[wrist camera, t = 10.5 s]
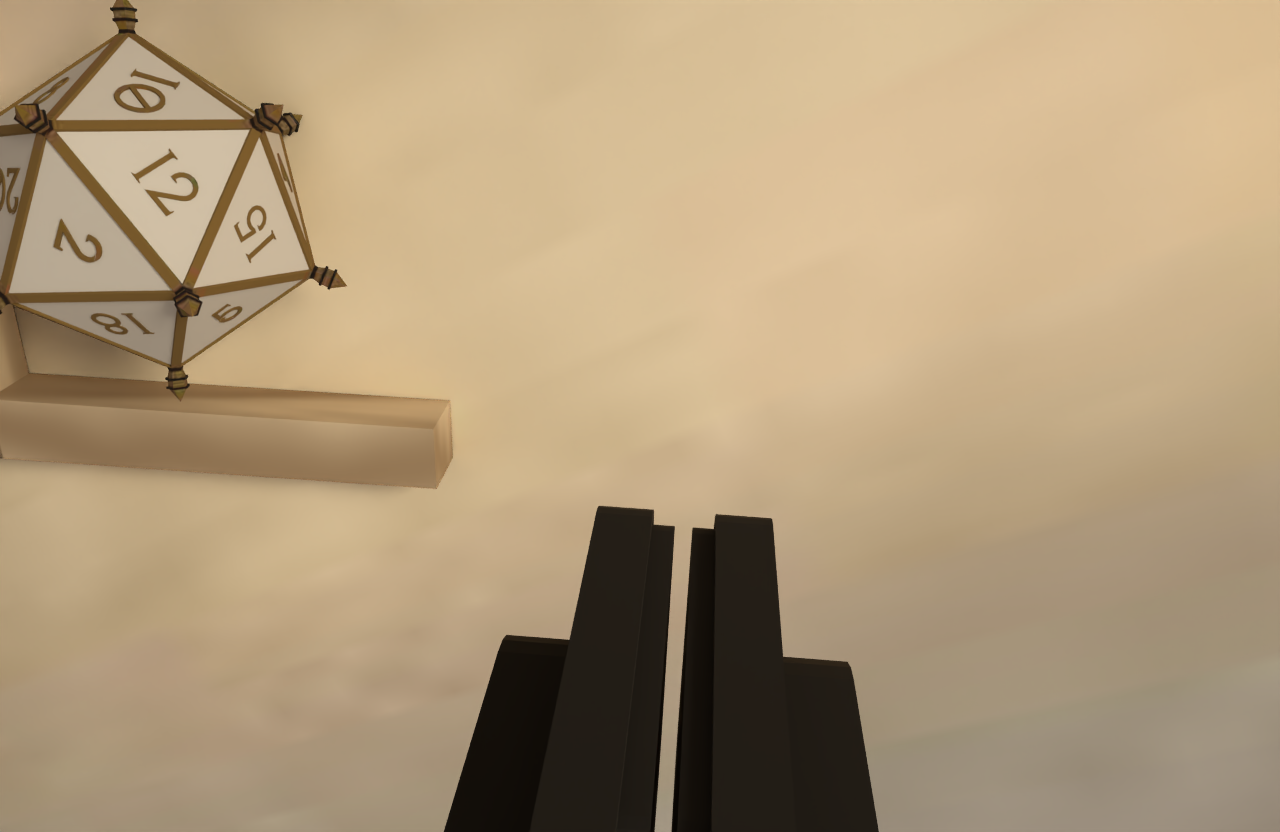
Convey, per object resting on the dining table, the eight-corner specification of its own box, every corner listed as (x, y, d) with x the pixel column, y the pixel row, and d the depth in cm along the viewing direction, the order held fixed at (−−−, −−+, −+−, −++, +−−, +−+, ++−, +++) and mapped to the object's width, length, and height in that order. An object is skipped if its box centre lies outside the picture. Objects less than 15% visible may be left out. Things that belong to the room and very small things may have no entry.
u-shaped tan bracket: (-179, -175, 26) (-247, -184, 24) (422, -154, 25) (399, -160, 23) (-17, 425, 33) (-60, 454, 31) (453, 457, 32) (436, 488, 30)
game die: (249, 200, 33) (-36, 385, 28) (139, -72, 27) (-257, 97, 21) (453, 287, 29) (166, 522, 24) (378, -8, 23) (-32, 219, 18)
